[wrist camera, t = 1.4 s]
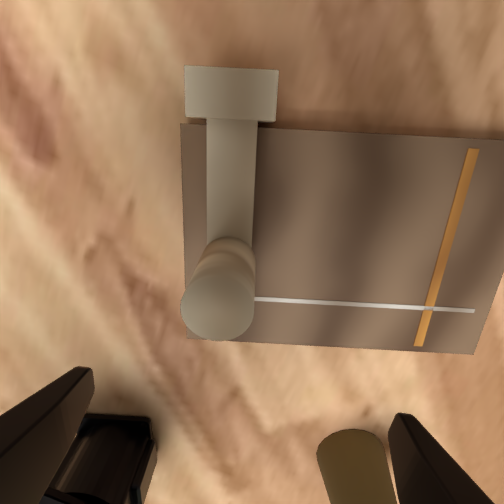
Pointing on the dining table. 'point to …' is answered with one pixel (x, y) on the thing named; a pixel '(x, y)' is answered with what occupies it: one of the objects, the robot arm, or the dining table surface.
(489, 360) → the dining table surface
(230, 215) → the lever handle
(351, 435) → the cork
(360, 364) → the dining table surface
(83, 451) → the robot arm
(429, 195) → the board
